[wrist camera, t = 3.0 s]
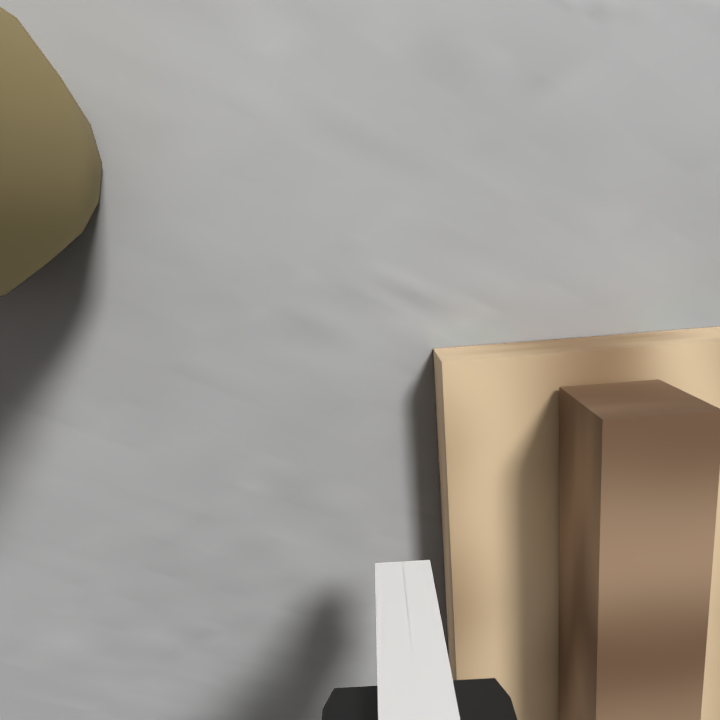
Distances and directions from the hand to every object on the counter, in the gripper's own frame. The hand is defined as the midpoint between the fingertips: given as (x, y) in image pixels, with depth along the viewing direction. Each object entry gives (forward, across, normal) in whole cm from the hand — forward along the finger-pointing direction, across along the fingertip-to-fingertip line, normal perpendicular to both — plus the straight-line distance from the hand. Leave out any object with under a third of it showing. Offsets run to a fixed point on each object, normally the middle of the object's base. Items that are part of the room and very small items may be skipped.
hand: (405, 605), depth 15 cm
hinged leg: (+3, +7, -3) cm, 8 cm away
